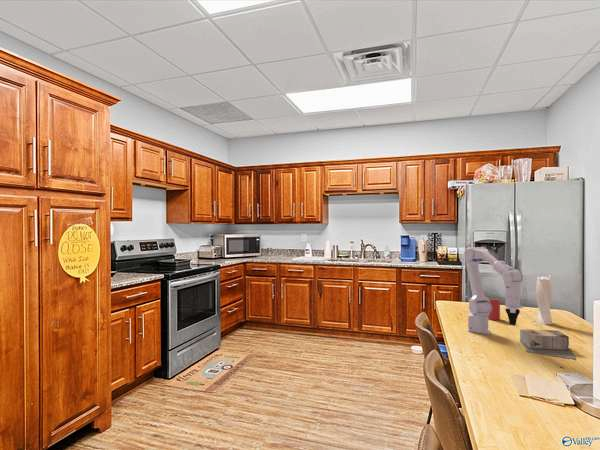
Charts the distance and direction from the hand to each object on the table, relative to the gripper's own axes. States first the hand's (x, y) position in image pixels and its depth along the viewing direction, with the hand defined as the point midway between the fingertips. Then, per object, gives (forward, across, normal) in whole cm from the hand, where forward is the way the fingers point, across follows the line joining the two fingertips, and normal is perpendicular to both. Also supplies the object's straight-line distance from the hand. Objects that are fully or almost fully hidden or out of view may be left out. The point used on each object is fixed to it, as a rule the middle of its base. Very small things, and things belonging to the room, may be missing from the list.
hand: (512, 324), depth 160 cm
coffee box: (+6, +1, -4) cm, 7 cm away
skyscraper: (+10, +50, -16) cm, 53 cm away
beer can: (+10, +45, +9) cm, 47 cm away
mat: (+9, 0, -14) cm, 17 cm away
